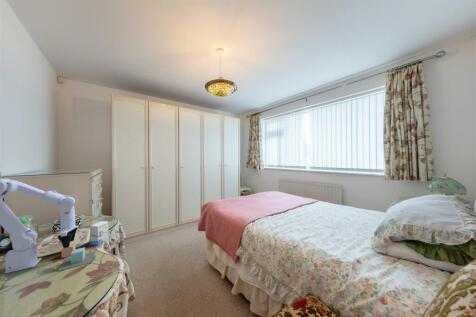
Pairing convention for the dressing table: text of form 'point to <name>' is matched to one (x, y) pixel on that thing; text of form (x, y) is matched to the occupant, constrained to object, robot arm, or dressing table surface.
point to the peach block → (68, 250)
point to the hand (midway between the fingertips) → (68, 244)
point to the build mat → (86, 260)
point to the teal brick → (77, 255)
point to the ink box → (98, 232)
